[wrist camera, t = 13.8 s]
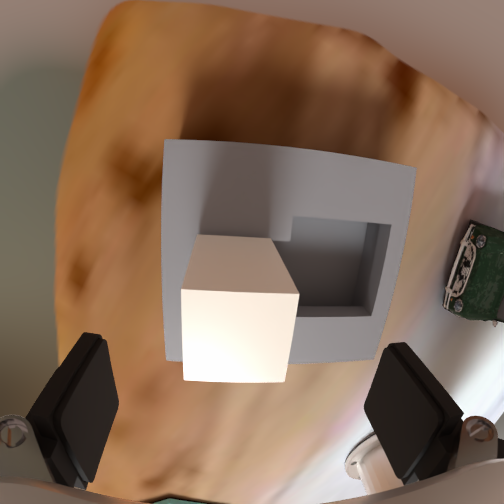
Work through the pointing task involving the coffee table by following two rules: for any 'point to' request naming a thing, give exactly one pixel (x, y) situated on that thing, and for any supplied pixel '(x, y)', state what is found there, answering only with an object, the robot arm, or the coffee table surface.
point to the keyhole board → (293, 234)
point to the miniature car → (478, 276)
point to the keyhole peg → (237, 311)
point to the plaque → (175, 502)
